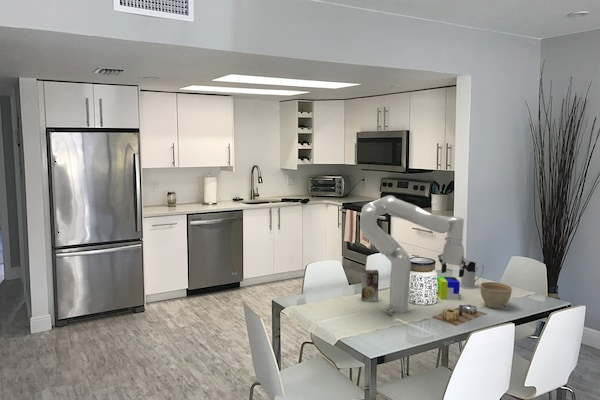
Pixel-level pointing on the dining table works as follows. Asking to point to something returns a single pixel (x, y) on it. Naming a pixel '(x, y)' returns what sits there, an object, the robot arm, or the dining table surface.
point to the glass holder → (469, 276)
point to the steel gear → (469, 309)
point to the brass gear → (450, 315)
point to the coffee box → (370, 285)
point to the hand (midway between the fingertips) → (452, 274)
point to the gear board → (461, 316)
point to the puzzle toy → (448, 287)
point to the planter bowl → (495, 294)
